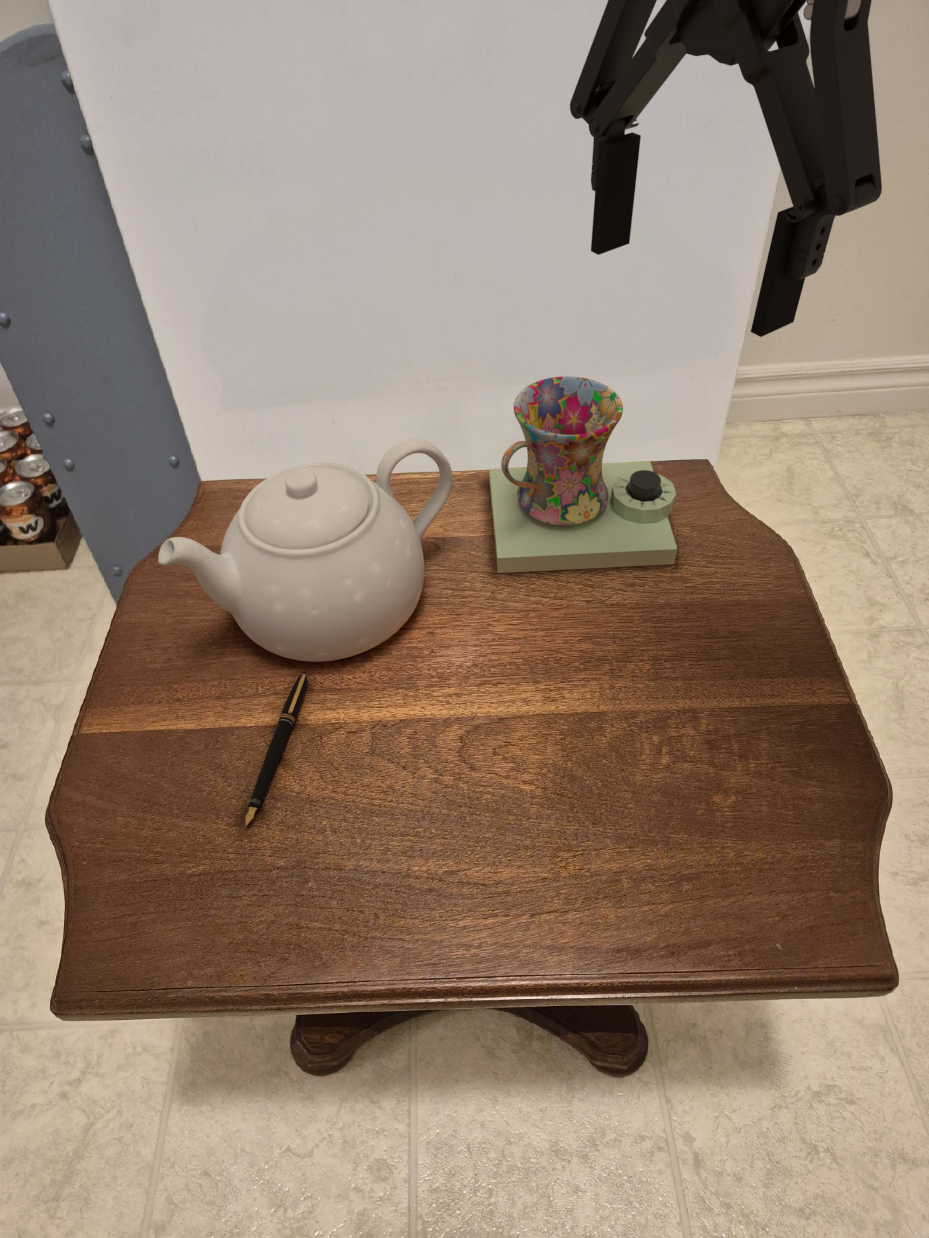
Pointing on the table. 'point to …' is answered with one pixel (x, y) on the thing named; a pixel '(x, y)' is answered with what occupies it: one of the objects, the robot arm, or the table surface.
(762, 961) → the table surface
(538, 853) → the table surface
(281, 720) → the fountain pen
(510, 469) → the scale
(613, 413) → the mug
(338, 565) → the teapot
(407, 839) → the table surface
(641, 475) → the button
